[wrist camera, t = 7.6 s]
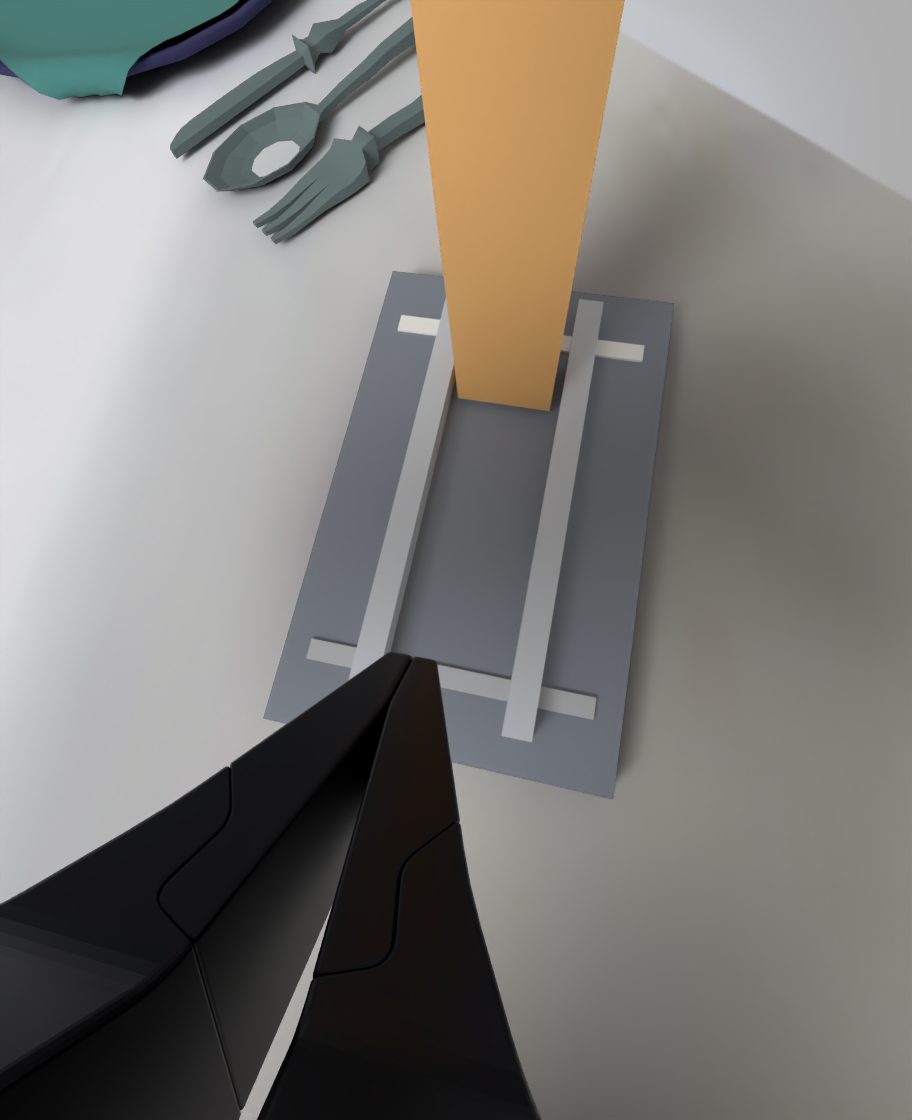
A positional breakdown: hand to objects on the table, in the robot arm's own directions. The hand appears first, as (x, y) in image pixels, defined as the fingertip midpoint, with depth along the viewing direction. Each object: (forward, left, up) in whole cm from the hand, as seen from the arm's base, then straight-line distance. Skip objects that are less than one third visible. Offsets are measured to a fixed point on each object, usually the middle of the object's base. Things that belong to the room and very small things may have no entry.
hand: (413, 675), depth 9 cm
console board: (+5, +3, -7) cm, 9 cm away
